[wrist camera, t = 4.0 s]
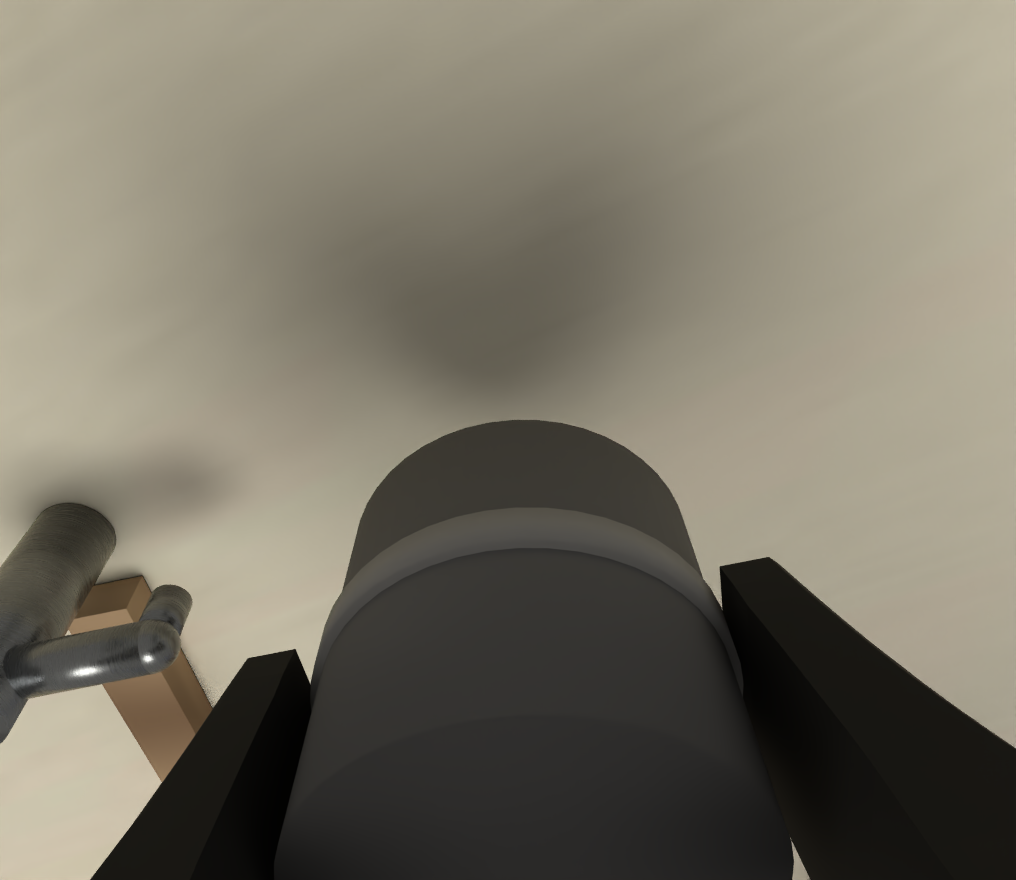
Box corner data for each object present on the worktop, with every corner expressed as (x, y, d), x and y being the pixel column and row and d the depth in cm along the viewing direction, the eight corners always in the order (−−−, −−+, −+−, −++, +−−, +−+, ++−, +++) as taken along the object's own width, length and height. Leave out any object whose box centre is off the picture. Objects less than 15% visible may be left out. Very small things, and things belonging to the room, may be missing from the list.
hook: (244, 534, 19) (183, 712, 15) (56, 572, 19) (-68, 761, 15) (218, 472, 18) (142, 639, 14) (20, 512, 19) (-123, 692, 14)
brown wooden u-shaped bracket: (626, 850, 27) (634, 885, 26) (274, 917, 27) (267, 955, 26) (561, 492, 20) (569, 520, 18) (83, 587, 20) (63, 620, 19)
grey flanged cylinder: (722, 644, 13) (833, 979, 9) (422, 715, 14) (387, 1056, 9) (650, 367, 10) (756, 642, 6) (288, 472, 11) (157, 784, 7)
